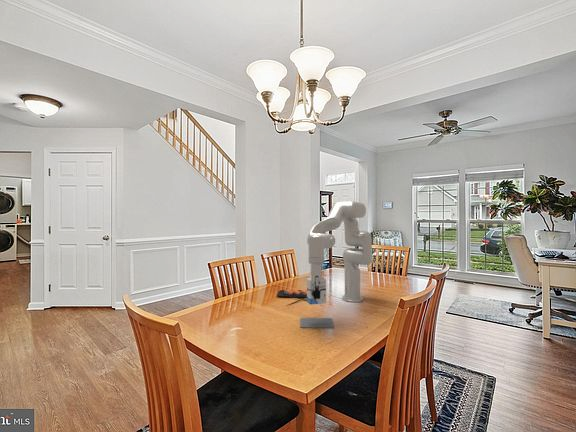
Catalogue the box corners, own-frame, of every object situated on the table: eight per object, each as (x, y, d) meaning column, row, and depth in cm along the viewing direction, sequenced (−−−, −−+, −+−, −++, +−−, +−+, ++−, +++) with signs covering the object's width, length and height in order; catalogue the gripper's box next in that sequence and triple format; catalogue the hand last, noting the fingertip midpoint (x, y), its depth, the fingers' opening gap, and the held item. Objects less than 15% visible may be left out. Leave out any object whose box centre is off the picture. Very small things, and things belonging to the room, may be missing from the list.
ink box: (310, 304, 146) (309, 280, 146) (306, 301, 151) (306, 278, 151) (326, 303, 148) (326, 279, 148) (322, 300, 153) (322, 277, 153)
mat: (300, 318, 156) (300, 317, 156) (331, 319, 156) (331, 318, 156) (300, 327, 144) (300, 326, 144) (334, 328, 144) (334, 327, 144)
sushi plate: (322, 293, 205) (322, 287, 205) (322, 307, 175) (322, 301, 175) (279, 292, 208) (279, 286, 208) (272, 306, 178) (272, 300, 178)
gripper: (308, 257, 158) (308, 291, 158) (309, 263, 141) (309, 302, 141) (322, 257, 158) (323, 291, 158) (325, 263, 140) (325, 302, 141)
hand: (316, 296), depth 150 cm, fingers closed on ink box, 6 cm apart
